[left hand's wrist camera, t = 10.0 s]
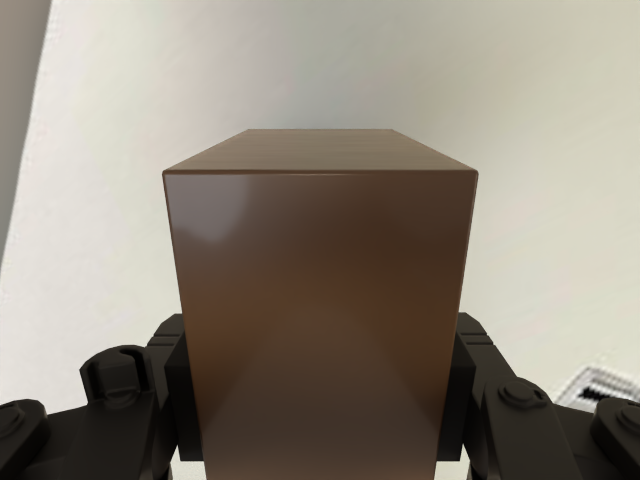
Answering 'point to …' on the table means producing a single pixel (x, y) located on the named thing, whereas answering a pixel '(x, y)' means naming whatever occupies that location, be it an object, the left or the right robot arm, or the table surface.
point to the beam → (320, 300)
